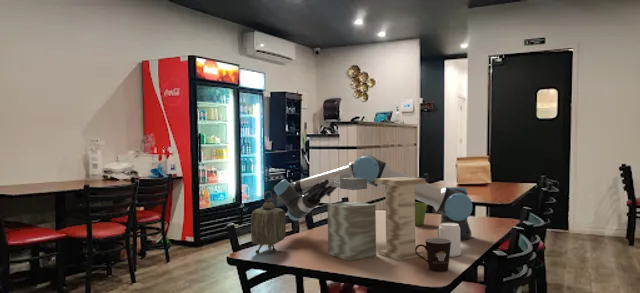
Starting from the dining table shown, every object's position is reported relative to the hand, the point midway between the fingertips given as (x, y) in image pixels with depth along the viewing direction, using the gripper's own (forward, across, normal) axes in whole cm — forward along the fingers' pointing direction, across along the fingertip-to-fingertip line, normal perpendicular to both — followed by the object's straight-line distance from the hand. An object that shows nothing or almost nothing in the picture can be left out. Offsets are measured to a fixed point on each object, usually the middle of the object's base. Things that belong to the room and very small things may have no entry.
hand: (336, 177), depth 186 cm
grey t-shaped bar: (+1, 0, -5) cm, 5 cm away
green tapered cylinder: (-33, -70, -16) cm, 79 cm away
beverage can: (+14, -30, -43) cm, 54 cm away
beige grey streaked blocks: (-2, -8, -34) cm, 35 cm away
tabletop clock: (-29, +23, -19) cm, 41 cm away
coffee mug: (+22, -10, -48) cm, 53 cm away
